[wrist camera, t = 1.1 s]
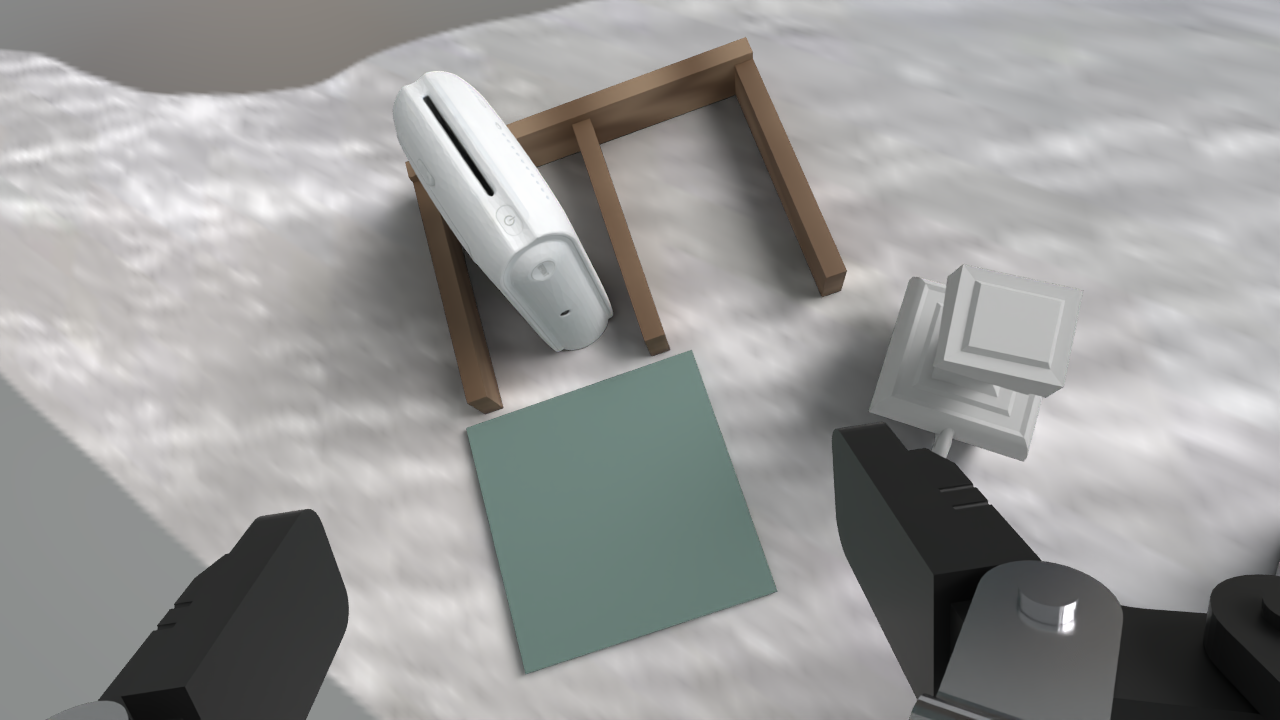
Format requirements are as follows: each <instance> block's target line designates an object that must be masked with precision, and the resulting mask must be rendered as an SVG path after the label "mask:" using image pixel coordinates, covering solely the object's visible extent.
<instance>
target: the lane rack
mask: <svg viewBox="0 0 1280 720" xmlns="http://www.w3.org/2000/svg"><path fill="white" fill-rule="evenodd" d="M734 95H736V97H737V99H738V102H739V104H740V106H741V109H742V111H743V113H744V116H745V118H746V120H747V123H748V125H749V127H750V130H751V132H752V134H753V137H754V139H755V141H756V144H757V146H758V148H759V151H760V153H761V156H762V158H763V160H764V163H765V165H766V167H767V170H768V172H769V174H770V177H771V179H772V181H773V184H774V186H775V188H776V191H777V193H778V195H779V198H780V200H781V202H782V205H783V207H784V209H785V212H786V214H787V217H788V219H789V221H790V224H791V226H792V228H793V231H794V233H795V235H796V238H797V240H798V242H799V245H800V247H801V249H802V252H803V254H804V256H805V259H806V261H807V263H808V266H809V268H810V270H811V273H812V275H813V278H814V280H815V282H816V285H817V287H818V289H819V292H820V294H821V296H822V297H824V296H827V295H830V294H832V293H835V292H838V291H841V289H842V286H843V282H844V279H845V276H846V272H847V270H846V268H845V265H844V263H843V261H842V259H841V256H840V254H839V252H838V250H837V247H836V245H835V243H834V241H833V238H832V236H831V234H830V232H829V229H828V227H827V225H826V223H825V220H824V218H823V216H822V213H821V211H820V209H819V207H818V204H817V202H816V200H815V198H814V195H813V193H812V191H811V189H810V186H809V184H808V182H807V180H806V177H805V175H804V173H803V171H802V168H801V166H800V164H799V162H798V159H797V157H796V155H795V153H794V150H793V148H792V146H791V144H790V141H789V139H788V137H787V135H786V132H785V130H784V128H783V126H782V123H781V121H780V119H779V117H778V114H777V112H776V110H775V108H774V105H773V103H772V101H771V99H770V96H769V94H768V92H767V90H766V87H765V85H764V83H763V81H762V78H761V76H760V74H759V72H758V69H757V67H756V65H755V63H754V60H753V52H752V49H751V47H750V45H749V43H748V40H747V38H746V37H745V38H742V39H740V40H737V41H734V42H731V43H729V44H726V45H723V46H720V47H718V48H715V49H712V50H710V51H707V52H704V53H701V54H699V55H696V56H693V57H691V58H688V59H685V60H682V61H680V62H677V63H674V64H671V65H669V66H666V67H663V68H661V69H658V70H655V71H652V72H650V73H647V74H644V75H641V76H639V77H636V78H633V79H631V80H628V81H625V82H622V83H620V84H617V85H614V86H611V87H609V88H606V89H603V90H601V91H598V92H595V93H592V94H590V95H587V96H584V97H582V98H579V99H576V100H573V101H571V102H568V103H565V104H562V105H560V106H557V107H554V108H552V109H549V110H546V111H543V112H541V113H538V114H535V115H532V116H530V117H527V118H524V119H522V120H519V121H516V122H513V123H511V124H508V125H506V126H507V127H508V129H509V130H510V131H511V133H512V134H513V135H514V137H515V138H516V140H517V141H518V142H519V144H520V145H521V147H522V148H523V149H524V151H525V152H526V154H527V155H528V156H529V158H530V159H531V161H532V162H533V164H534V165H535V166H536V167H538V166H541V165H544V164H547V163H549V162H552V161H555V160H558V159H560V158H563V157H566V156H569V155H571V154H574V153H577V152H580V151H581V153H582V156H583V159H584V162H585V165H586V168H587V171H588V174H589V177H590V180H591V183H592V186H593V189H594V192H595V195H596V198H597V201H598V204H599V207H600V210H601V213H602V216H603V219H604V222H605V225H606V228H607V231H608V233H609V236H610V239H611V242H612V245H613V248H614V251H615V254H616V257H617V260H618V263H619V266H620V269H621V272H622V275H623V278H624V281H625V284H626V287H627V290H628V293H629V296H630V299H631V302H632V305H633V308H634V311H635V314H636V317H637V320H638V323H639V326H640V329H641V332H642V335H643V338H644V341H645V343H646V345H647V348H648V350H649V352H650V354H651V356H654V355H657V354H660V353H663V352H665V351H668V350H670V348H669V345H668V342H667V339H666V336H665V333H664V330H663V327H662V324H661V322H660V319H659V316H658V313H657V310H656V307H655V304H654V301H653V298H652V295H651V293H650V290H649V287H648V284H647V281H646V278H645V275H644V272H643V269H642V267H641V264H640V261H639V258H638V255H637V252H636V249H635V246H634V243H633V240H632V238H631V235H630V232H629V229H628V226H627V223H626V220H625V217H624V214H623V212H622V209H621V206H620V203H619V200H618V197H617V194H616V191H615V188H614V185H613V183H612V180H611V177H610V174H609V171H608V168H607V165H606V162H605V159H604V157H603V154H602V151H601V148H600V145H599V144H602V143H604V142H607V141H610V140H613V139H615V138H618V137H621V136H624V135H626V134H629V133H632V132H635V131H637V130H640V129H643V128H646V127H648V126H651V125H654V124H657V123H659V122H662V121H665V120H668V119H670V118H673V117H676V116H679V115H681V114H684V113H687V112H690V111H692V110H695V109H698V108H701V107H703V106H706V105H709V104H712V103H715V102H717V101H720V100H723V99H726V98H728V97H731V96H734ZM405 163H406V167H407V172H408V176H409V178H410V180H411V181H412V182H413V184H414V188H415V192H416V196H417V200H418V204H419V208H420V213H421V217H422V221H423V225H424V229H425V233H426V237H427V241H428V245H429V249H430V253H431V257H432V262H433V266H434V270H435V274H436V278H437V282H438V286H439V290H440V294H441V298H442V302H443V306H444V311H445V315H446V319H447V323H448V327H449V331H450V335H451V339H452V343H453V347H454V351H455V355H456V360H457V364H458V368H459V372H460V376H461V380H462V384H463V388H464V392H465V396H466V400H467V403H468V404H469V405H471V406H473V407H474V408H476V409H477V410H479V411H481V412H482V413H484V414H487V413H490V412H493V411H496V410H499V409H501V408H503V404H502V401H501V397H500V393H499V389H498V385H497V381H496V378H495V374H494V370H493V366H492V362H491V358H490V355H489V351H488V347H487V343H486V339H485V335H484V332H483V328H482V324H481V320H480V316H479V312H478V309H477V305H476V301H475V297H474V293H473V289H472V286H471V282H470V278H469V274H468V270H467V266H466V263H465V259H464V255H463V251H462V247H461V243H460V242H459V240H458V239H457V237H456V236H455V234H454V233H453V231H452V230H451V228H450V227H449V226H448V224H447V222H446V221H445V220H444V218H443V216H442V215H441V213H440V212H439V210H438V209H437V207H436V206H435V204H434V203H433V201H432V199H431V198H430V196H429V195H428V193H427V191H426V190H425V188H424V187H423V185H422V183H421V182H420V180H419V178H418V177H417V175H416V173H415V172H414V170H413V168H412V166H411V165H410V163H409V161H407V162H405Z"/></svg>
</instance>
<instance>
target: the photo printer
mask: <svg viewBox="0 0 1280 720" xmlns="http://www.w3.org/2000/svg"><path fill="white" fill-rule="evenodd" d="M393 119H394V124H395V129H396V132H397V138H398V141H399V143H400V145H401V147H402V149H403V151H404V153H405V155H406V157H407V159H408V161H409V163H410V165H411V166H412V168H413V170H414V172H415V173H416V175H417V177H418V178H419V180H420V182H421V183H422V185H423V187H424V188H425V190H426V191H427V193H428V195H429V196H430V198H431V199H432V201H433V203H434V204H435V206H436V207H437V209H438V210H439V212H440V213H441V215H442V216H443V218H444V220H445V221H446V222H447V224H448V226H449V227H450V228H451V230H452V231H453V233H454V234H455V236H456V237H457V239H458V240H459V242H460V243H461V244H462V246H463V247H464V248H465V250H466V251H467V252H468V254H469V255H470V256H471V258H472V259H473V261H474V262H475V263H476V264H478V266H479V267H480V268H481V269H482V271H483V272H484V273H485V274H486V275H487V276H488V277H489V279H490V280H491V281H492V282H493V283H494V284H495V285H496V287H497V288H498V289H499V290H500V291H501V292H502V293H503V294H504V296H505V297H506V298H507V299H508V300H509V301H510V303H511V304H512V305H513V306H514V307H515V308H516V309H517V310H518V312H519V313H520V314H521V315H522V316H523V317H524V318H525V320H526V321H527V322H528V323H529V324H530V325H531V327H532V328H533V329H534V330H535V331H536V332H537V334H538V335H539V336H540V337H541V338H542V339H543V340H544V341H545V342H546V343H547V344H548V345H549V346H550V347H551V348H552V349H554V350H555V351H556V352H559V351H561V350H563V349H566V350H576V349H580V348H584V347H586V346H588V345H590V344H591V343H593V342H594V341H595V340H597V339H598V338H599V337H600V336H601V335H602V333H603V332H604V330H605V328H606V326H607V324H608V319H609V318H611V317H612V316H613V310H612V307H611V304H610V301H609V298H608V296H607V294H606V292H605V290H604V288H603V286H602V283H601V281H600V279H599V277H598V275H597V273H596V271H595V269H594V268H593V266H592V264H591V262H590V260H589V258H588V256H587V254H586V252H585V250H584V248H583V246H582V244H581V242H580V240H579V238H578V236H577V234H576V233H575V231H574V229H573V227H572V225H571V223H570V221H569V219H568V217H567V215H566V213H565V212H564V210H563V208H562V206H561V205H560V203H559V202H558V200H557V198H556V197H555V195H554V194H553V192H552V191H551V189H550V187H549V186H548V184H547V183H546V181H545V180H544V178H543V177H542V175H541V174H540V172H539V171H538V169H537V168H536V166H535V165H534V164H533V162H532V161H531V159H530V158H529V156H528V155H527V154H526V152H525V151H524V149H523V148H522V147H521V145H520V144H519V142H518V141H517V140H516V138H515V137H514V135H513V134H512V133H511V131H510V130H509V129H508V127H507V126H506V125H505V124H504V122H503V121H502V120H501V118H500V117H499V116H498V114H497V113H496V112H495V111H494V109H493V108H492V107H491V106H490V105H489V103H488V102H487V101H486V100H485V98H484V97H483V96H482V95H481V94H480V93H479V92H478V91H477V90H476V89H475V88H474V87H473V86H471V85H470V84H469V83H467V82H466V81H465V80H463V79H461V78H460V77H458V76H457V75H455V74H452V73H448V72H445V71H432V72H427V73H425V74H424V75H422V77H421V78H420V79H419V80H417V81H416V82H414V83H412V84H410V85H407V86H403V87H402V89H401V90H400V91H399V93H398V95H397V97H396V100H395V102H394V106H393Z"/></svg>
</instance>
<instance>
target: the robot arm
mask: <svg viewBox="0 0 1280 720" xmlns="http://www.w3.org/2000/svg"><path fill="white" fill-rule="evenodd" d="M832 453H833V470H834V488H835V505H836V519H837V526H838V532H839V536H840V540H841V544H842V547H843V550H844V553H845V556H846V558H847V560H848V562H849V564H850V566H851V568H852V570H853V572H854V574H855V576H856V578H857V580H858V582H859V584H860V586H861V588H862V590H863V592H864V594H865V596H866V598H867V600H868V602H869V604H870V606H871V608H872V610H873V612H874V614H875V616H876V618H877V620H878V622H879V624H880V626H881V628H882V630H883V632H884V634H885V636H886V638H887V640H888V642H889V644H890V646H891V648H892V650H893V652H894V654H895V656H896V658H897V660H898V662H899V664H900V666H901V668H902V670H903V672H904V674H905V676H906V678H907V680H908V682H909V684H910V686H911V688H912V690H913V692H914V694H915V696H916V698H917V702H916V703H915V705H914V708H913V710H912V712H911V715H910V717H909V720H1280V561H1279V563H1278V567H1277V571H1276V575H1275V576H1274V575H1244V576H1238V577H1233V578H1230V579H1227V580H1225V581H1223V582H1221V583H1220V584H1218V585H1217V586H1216V587H1215V588H1214V589H1213V591H1212V593H1211V596H1210V601H1209V607H1208V613H1207V614H1205V613H1192V612H1179V611H1166V610H1153V609H1142V608H1134V607H1127V606H1122V605H1120V603H1119V602H1118V600H1117V598H1116V597H1115V596H1114V595H1113V593H1112V592H1111V591H1110V590H1109V589H1108V588H1107V587H1105V586H1104V585H1103V584H1102V583H1100V582H1099V581H1097V580H1096V579H1094V578H1093V577H1091V576H1089V575H1087V574H1085V573H1083V572H1081V571H1078V570H1076V569H1073V568H1070V567H1068V566H1064V565H1060V564H1056V563H1051V562H1045V561H1041V559H1040V558H1039V557H1038V556H1037V555H1036V554H1035V553H1034V552H1033V550H1032V549H1031V548H1030V547H1029V546H1028V545H1027V544H1026V543H1025V541H1024V540H1023V539H1022V538H1021V537H1020V536H1019V535H1018V534H1017V533H1016V531H1015V530H1014V529H1013V528H1012V527H1011V526H1010V525H1009V524H1008V522H1007V521H1006V520H1005V519H1004V518H1003V517H1002V516H1001V515H1000V513H999V512H998V511H997V510H996V509H995V508H994V507H993V506H992V505H989V504H988V500H987V499H986V498H985V497H984V495H983V494H982V493H981V492H980V491H979V490H978V489H977V488H976V487H975V488H974V487H973V483H972V482H971V481H970V480H969V479H968V478H967V476H966V475H965V474H964V473H963V472H962V471H961V470H960V469H959V467H958V466H957V465H956V464H955V463H953V462H952V461H950V460H948V459H946V458H944V457H942V456H940V455H938V454H936V453H934V452H932V451H930V450H928V449H926V448H922V449H916V450H909V451H908V450H907V449H906V448H905V446H904V445H903V444H902V443H901V441H900V440H899V439H898V438H897V436H896V435H895V434H894V433H893V431H892V430H891V429H890V428H889V426H888V425H887V424H886V423H884V422H877V423H871V424H865V425H858V426H852V427H845V428H839V429H835V430H834V431H833V435H832ZM174 605H175V608H174V609H170V610H169V611H168V613H167V614H166V615H165V617H164V618H163V619H162V620H161V621H160V623H159V624H158V625H157V626H158V630H156V631H153V632H152V633H151V634H150V635H149V637H148V638H147V639H146V640H145V642H144V643H143V644H142V645H141V647H140V648H139V649H138V651H137V652H136V653H135V654H134V656H133V657H132V658H131V659H130V661H129V662H128V663H127V664H126V666H125V667H124V668H123V669H122V671H121V672H120V673H119V675H118V676H117V677H116V679H115V680H114V681H113V682H112V683H111V685H110V686H109V687H108V689H107V690H106V691H105V692H104V694H103V695H102V696H101V697H100V699H99V700H98V701H96V702H90V703H86V704H82V705H78V706H75V707H73V708H70V709H67V710H65V711H62V712H60V713H58V714H56V715H54V716H52V717H50V718H48V719H46V720H306V718H307V716H308V714H309V711H310V709H311V707H312V705H313V703H314V701H315V698H316V696H317V694H318V692H319V689H320V687H321V685H322V683H323V681H324V678H325V676H326V674H327V672H328V669H329V667H330V665H331V663H332V660H333V658H334V656H335V654H336V652H337V649H338V647H339V645H340V643H341V640H342V638H343V636H344V634H345V631H346V628H347V623H348V615H349V605H348V596H347V592H346V588H345V585H344V583H343V580H342V577H341V574H340V572H339V569H338V566H337V563H336V561H335V558H334V555H333V552H332V550H331V547H330V544H329V541H328V538H327V536H326V533H325V530H324V527H323V525H322V522H321V520H320V518H319V516H318V515H317V514H316V512H314V511H313V510H311V509H305V510H298V511H292V512H285V513H279V514H272V515H266V516H260V517H258V518H257V519H255V521H254V522H253V523H252V524H251V525H250V527H249V528H248V529H247V531H246V532H245V533H244V535H243V536H242V537H241V539H240V540H239V541H238V543H237V544H236V545H235V547H234V548H233V549H232V550H231V552H230V553H229V554H225V555H224V556H223V557H221V558H220V559H219V560H217V561H216V562H215V563H214V564H212V565H211V566H210V567H208V568H207V569H206V570H205V571H203V572H202V573H201V574H199V575H198V576H197V577H196V578H194V580H193V581H192V582H191V583H190V585H189V586H188V587H187V589H186V590H185V591H184V592H183V594H182V595H181V596H180V598H179V599H178V600H177V601H176V602H175V604H174Z"/></svg>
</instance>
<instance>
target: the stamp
mask: <svg viewBox="0 0 1280 720" xmlns="http://www.w3.org/2000/svg"><path fill="white" fill-rule="evenodd" d="M1082 295H1083V290H1080V289H1075V288H1071V287H1066V286H1061V285H1057V284H1052V283H1047V282H1043V281H1038V280H1034V279H1029V278H1024V277H1020V276H1015V275H1010V274H1006V273H1001V272H997V271H992V270H987V269H983V268H978V267H973V266H969V265H964V264H963V265H962V266H960V267H959V268H958V269H957V270H956V271H954V272H953V273H952V274H951V275H949V276H948V278H947V285H945V284H942V283H938V282H935V281H931V280H927V279H924V278H920V277H912V278H911V279H910V280H909V283H908V286H907V289H906V292H905V296H904V299H903V302H902V305H901V309H900V312H899V315H898V318H897V321H896V325H895V328H894V331H893V334H892V338H891V341H890V344H889V347H888V350H887V354H886V357H885V360H884V363H883V367H882V370H881V373H880V376H879V379H878V383H877V386H876V389H875V392H874V396H873V399H872V402H871V405H870V408H869V412H871V413H874V414H877V415H880V416H883V417H886V418H889V419H892V420H895V421H899V422H902V423H905V424H908V425H911V426H914V427H917V428H920V429H923V430H927V431H930V432H933V433H936V435H935V441H934V445H933V447H932V452H934V453H936V454H938V455H940V456H942V457H944V458H946V457H947V455H948V452H949V449H950V446H951V444H952V439H955V440H958V441H961V442H964V443H967V444H970V445H973V446H976V447H980V448H983V449H986V450H989V451H992V452H995V453H998V454H1001V455H1004V456H1008V457H1011V458H1014V459H1017V460H1020V461H1023V462H1024V460H1025V459H1026V458H1027V455H1028V451H1029V447H1030V443H1031V440H1032V436H1033V432H1034V428H1035V424H1036V420H1037V416H1038V412H1039V409H1040V405H1041V401H1042V397H1045V398H1046V397H1048V396H1049V395H1051V394H1053V393H1054V392H1056V391H1058V390H1060V389H1061V388H1063V387H1064V383H1065V378H1066V373H1067V368H1068V363H1069V358H1070V353H1071V348H1072V344H1073V339H1074V334H1075V329H1076V324H1077V319H1078V314H1079V309H1080V304H1081V299H1082Z"/></svg>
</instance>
